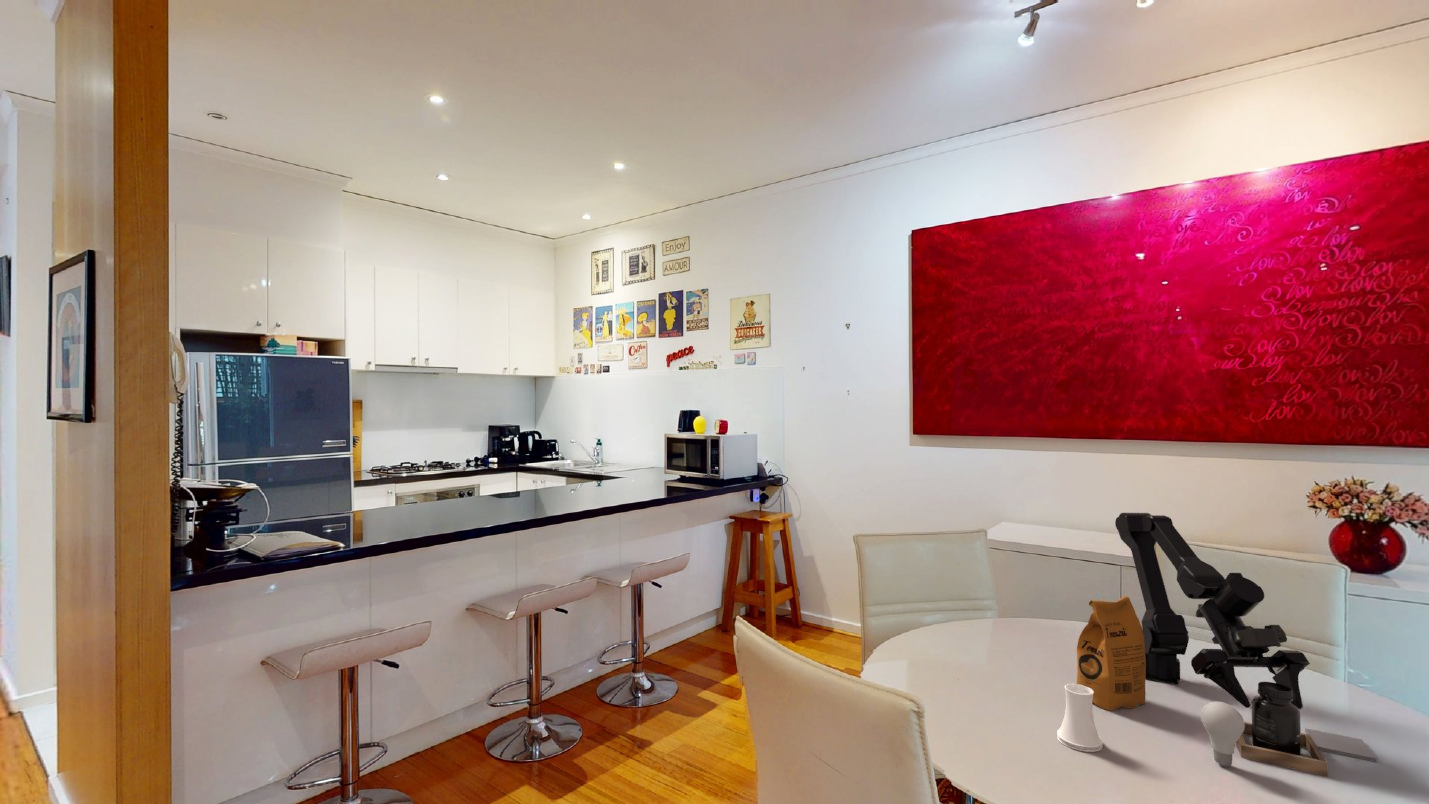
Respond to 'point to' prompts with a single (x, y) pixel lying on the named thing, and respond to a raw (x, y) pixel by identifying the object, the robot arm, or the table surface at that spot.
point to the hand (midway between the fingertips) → (1274, 707)
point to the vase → (1079, 720)
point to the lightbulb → (1222, 729)
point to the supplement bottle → (1276, 719)
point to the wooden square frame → (1285, 754)
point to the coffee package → (1113, 655)
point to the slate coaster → (1341, 744)
